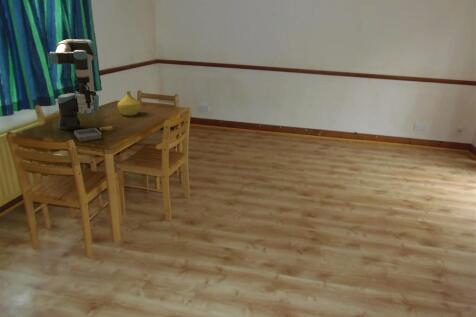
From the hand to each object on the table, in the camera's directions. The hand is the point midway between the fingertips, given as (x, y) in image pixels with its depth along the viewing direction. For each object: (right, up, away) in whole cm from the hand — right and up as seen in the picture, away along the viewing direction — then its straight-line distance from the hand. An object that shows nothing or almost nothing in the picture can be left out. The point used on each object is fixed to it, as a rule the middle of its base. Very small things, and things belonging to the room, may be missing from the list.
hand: (86, 111), depth 238 cm
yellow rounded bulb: (+9, +5, +64) cm, 65 cm away
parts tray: (-1, -16, +6) cm, 17 cm away
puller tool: (+5, -10, +22) cm, 25 cm away
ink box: (0, -1, 0) cm, 2 cm away
